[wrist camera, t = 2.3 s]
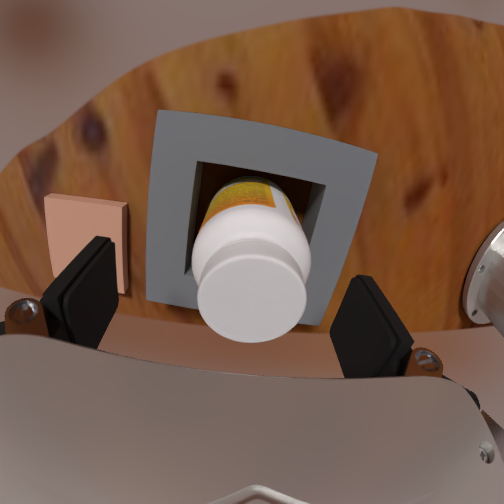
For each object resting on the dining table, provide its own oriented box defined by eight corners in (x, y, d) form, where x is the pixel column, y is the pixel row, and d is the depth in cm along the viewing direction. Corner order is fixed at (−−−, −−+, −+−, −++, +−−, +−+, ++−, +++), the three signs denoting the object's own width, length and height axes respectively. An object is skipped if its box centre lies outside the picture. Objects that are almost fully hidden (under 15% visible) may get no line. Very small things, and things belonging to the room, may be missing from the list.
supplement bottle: (194, 225, 19) (154, 319, 10) (238, 158, 17) (226, 202, 8) (261, 264, 20) (268, 371, 12) (307, 204, 18) (355, 286, 10)
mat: (127, 202, 18) (122, 207, 17) (128, 286, 21) (124, 293, 20) (51, 193, 18) (44, 197, 17) (59, 270, 21) (53, 276, 20)
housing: (359, 147, 17) (378, 153, 14) (312, 300, 22) (319, 325, 19) (172, 110, 16) (157, 109, 13) (157, 276, 21) (146, 299, 18)
